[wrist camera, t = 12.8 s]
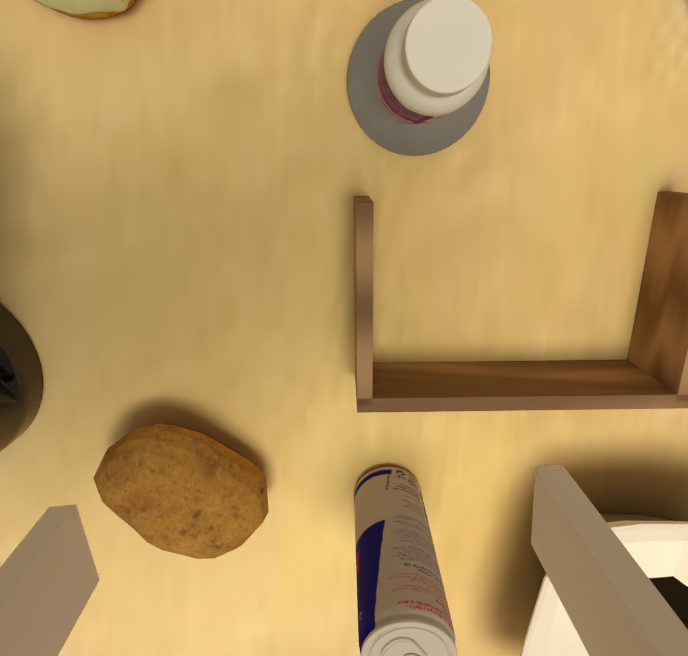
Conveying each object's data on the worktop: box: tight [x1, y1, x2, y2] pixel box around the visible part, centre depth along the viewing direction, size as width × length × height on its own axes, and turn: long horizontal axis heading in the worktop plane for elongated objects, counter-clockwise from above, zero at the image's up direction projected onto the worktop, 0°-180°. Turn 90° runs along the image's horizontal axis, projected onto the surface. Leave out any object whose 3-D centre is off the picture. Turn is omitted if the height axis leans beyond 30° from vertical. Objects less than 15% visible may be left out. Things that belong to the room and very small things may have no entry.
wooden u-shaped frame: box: [354, 192, 688, 412], centre depth 33 cm, size 14×22×6 cm, turn 91°
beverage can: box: [354, 467, 457, 656], centre depth 35 cm, size 6×6×15 cm
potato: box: [94, 423, 268, 559], centre depth 38 cm, size 9×13×7 cm
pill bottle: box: [376, 0, 492, 125], centre depth 27 cm, size 5×5×10 cm
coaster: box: [348, 0, 490, 156], centre depth 31 cm, size 9×9×1 cm
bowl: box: [520, 513, 688, 656], centre depth 40 cm, size 22×23×8 cm
